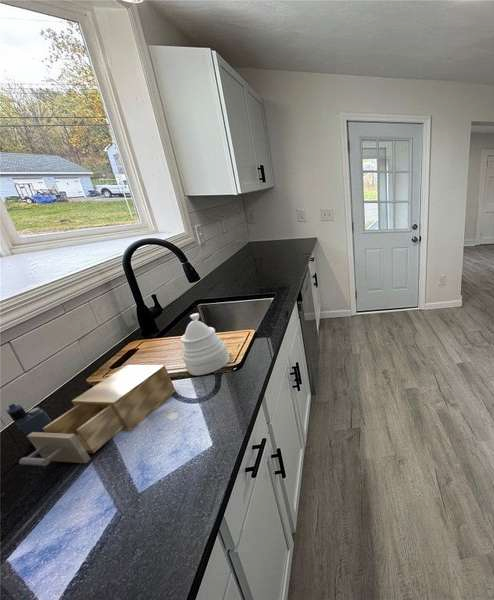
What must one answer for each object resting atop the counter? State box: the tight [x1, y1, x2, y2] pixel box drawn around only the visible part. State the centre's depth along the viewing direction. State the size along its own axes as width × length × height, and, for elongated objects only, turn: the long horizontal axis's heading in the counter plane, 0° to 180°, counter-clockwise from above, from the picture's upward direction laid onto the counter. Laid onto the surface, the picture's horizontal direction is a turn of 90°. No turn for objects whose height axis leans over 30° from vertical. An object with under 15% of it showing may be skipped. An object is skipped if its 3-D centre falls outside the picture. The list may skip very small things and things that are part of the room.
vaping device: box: [6, 403, 53, 443], centre depth 79 cm, size 3×5×12 cm, turn 166°
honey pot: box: [180, 312, 231, 376], centre depth 105 cm, size 13×13×18 cm
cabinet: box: [71, 364, 177, 432], centre depth 87 cm, size 16×13×10 cm
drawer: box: [18, 404, 125, 467], centre depth 75 cm, size 19×11×8 cm, turn 173°
